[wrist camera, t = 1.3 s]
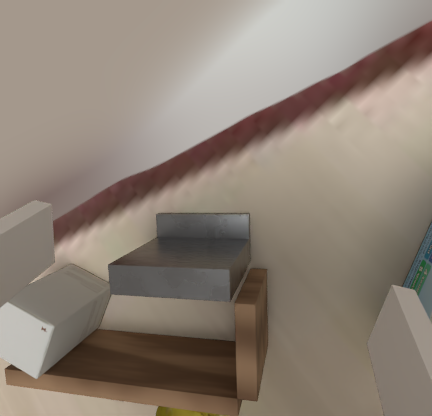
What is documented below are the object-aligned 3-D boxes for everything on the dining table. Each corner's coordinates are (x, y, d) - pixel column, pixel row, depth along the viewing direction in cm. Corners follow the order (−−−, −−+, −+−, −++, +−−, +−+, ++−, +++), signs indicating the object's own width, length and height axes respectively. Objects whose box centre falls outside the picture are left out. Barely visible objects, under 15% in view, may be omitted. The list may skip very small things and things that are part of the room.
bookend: (250, 260, 45) (230, 301, 32) (161, 257, 48) (110, 294, 35) (249, 213, 44) (228, 236, 31) (158, 213, 47) (105, 234, 34)
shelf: (268, 359, 46) (257, 419, 35) (65, 338, 53) (6, 384, 43) (266, 269, 44) (255, 304, 34) (57, 260, 52) (-6, 288, 41)
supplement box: (71, 261, 51) (-1, 295, 39) (115, 285, 50) (55, 327, 38) (57, 304, 53) (-17, 349, 41) (99, 328, 52) (36, 382, 39)
